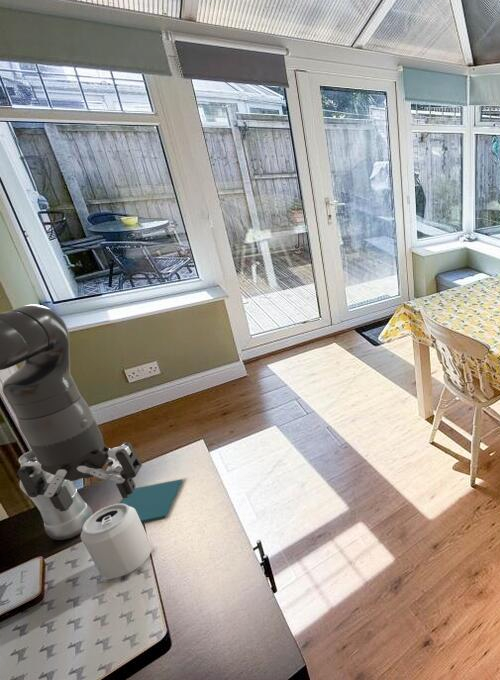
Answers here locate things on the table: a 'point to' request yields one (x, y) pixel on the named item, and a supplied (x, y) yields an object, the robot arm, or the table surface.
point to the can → (116, 540)
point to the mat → (153, 500)
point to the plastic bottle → (55, 520)
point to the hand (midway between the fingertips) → (98, 500)
